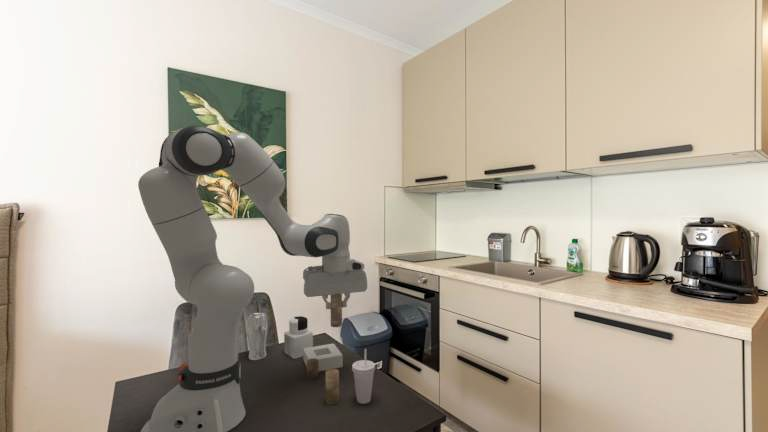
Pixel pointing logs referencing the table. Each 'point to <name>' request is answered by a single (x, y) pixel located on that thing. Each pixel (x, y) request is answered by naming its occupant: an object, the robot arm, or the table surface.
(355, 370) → the smoothie
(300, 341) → the container
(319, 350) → the socket block
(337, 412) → the table surface
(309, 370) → the walnut pin
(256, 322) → the beer glass
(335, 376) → the oak pin
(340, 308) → the maple pin
